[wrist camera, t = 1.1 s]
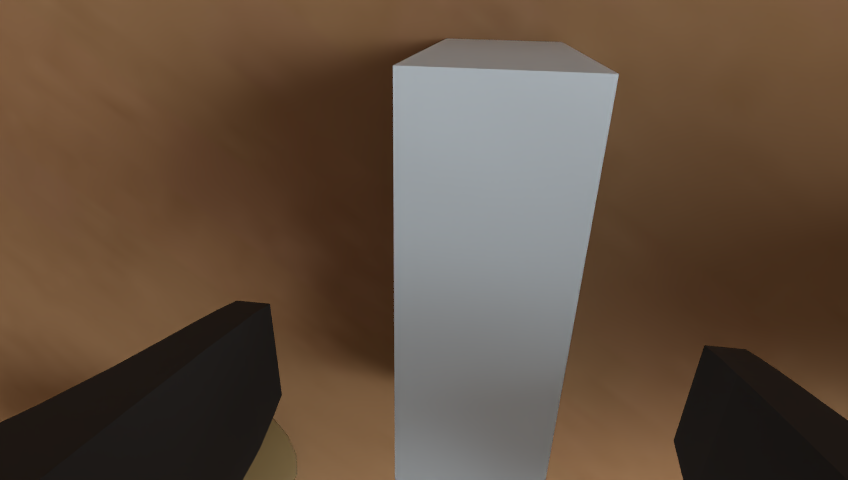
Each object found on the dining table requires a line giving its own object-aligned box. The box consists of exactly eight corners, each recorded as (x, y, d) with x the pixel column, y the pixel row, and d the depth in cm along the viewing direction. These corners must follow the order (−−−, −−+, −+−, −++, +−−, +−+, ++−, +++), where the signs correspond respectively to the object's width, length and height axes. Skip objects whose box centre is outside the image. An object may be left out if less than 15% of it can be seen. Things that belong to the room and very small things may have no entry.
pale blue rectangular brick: (446, 38, 11) (392, 64, 6) (560, 41, 11) (619, 74, 5) (433, 386, 15) (395, 590, 10) (515, 395, 15) (521, 611, 10)
